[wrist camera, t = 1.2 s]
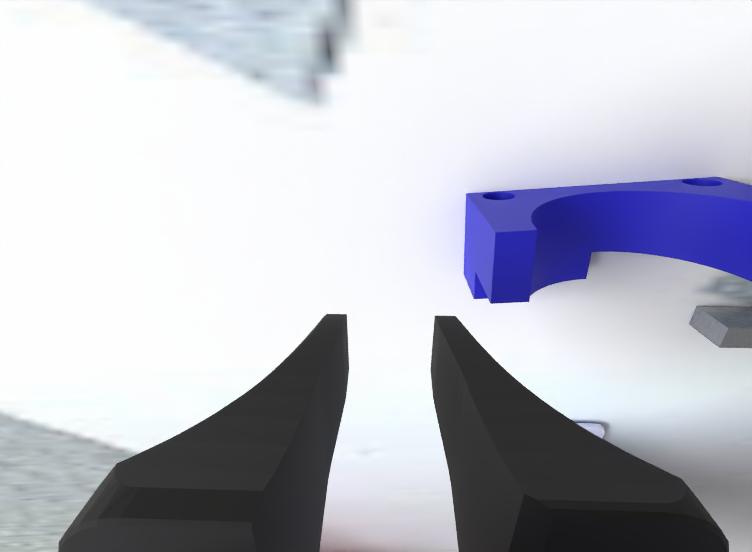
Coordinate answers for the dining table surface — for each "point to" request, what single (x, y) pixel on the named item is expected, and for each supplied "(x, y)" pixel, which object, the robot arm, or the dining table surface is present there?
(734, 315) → the rail bracket
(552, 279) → the blue stepped block
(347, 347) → the robot arm
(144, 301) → the dining table surface
